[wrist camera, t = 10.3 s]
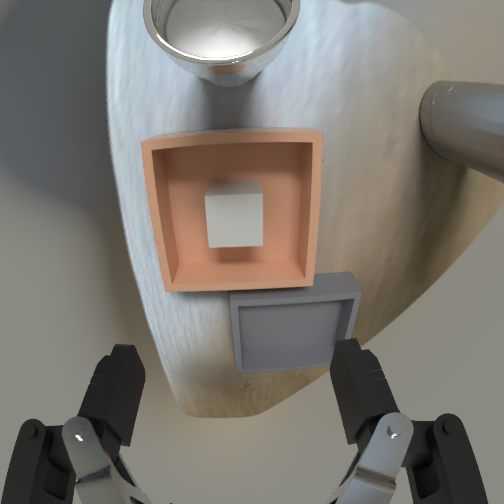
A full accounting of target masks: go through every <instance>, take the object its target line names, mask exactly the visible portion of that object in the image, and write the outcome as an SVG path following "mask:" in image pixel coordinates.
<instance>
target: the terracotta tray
mask: <svg viewBox="0 0 504 504" xmlns="http://www.w3.org/2000/svg"><path fill="white" fill-rule="evenodd" d="M141 148H142V157H143V166H144V174H145V181H146V189H147V196H148V202H149V209H150V215H151V221H152V227H153V233H154V238H155V244H156V249H157V254H158V259H159V264H160V269H161V274H162V278H163V283H164V287H165V292H184V291H219V290H245V289H266V288H285V287H302V286H313V279H314V269H315V259H316V249H317V237H318V224H319V211H320V195H321V176H322V152H323V133H322V132H319V131H316V130H313V129H309V128H233V129H215V130H201V131H190V132H179V133H170V134H162V135H156V136H154V137H151V138H148V139H146V140H143V141H141ZM233 180H259V182H260V185H261V189H262V192H263V246H245V247H218V248H209V243H208V232H207V221H206V209H205V197H204V196H205V193H206V191H207V188H208V185H209V182H212V181H233Z"/></svg>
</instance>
